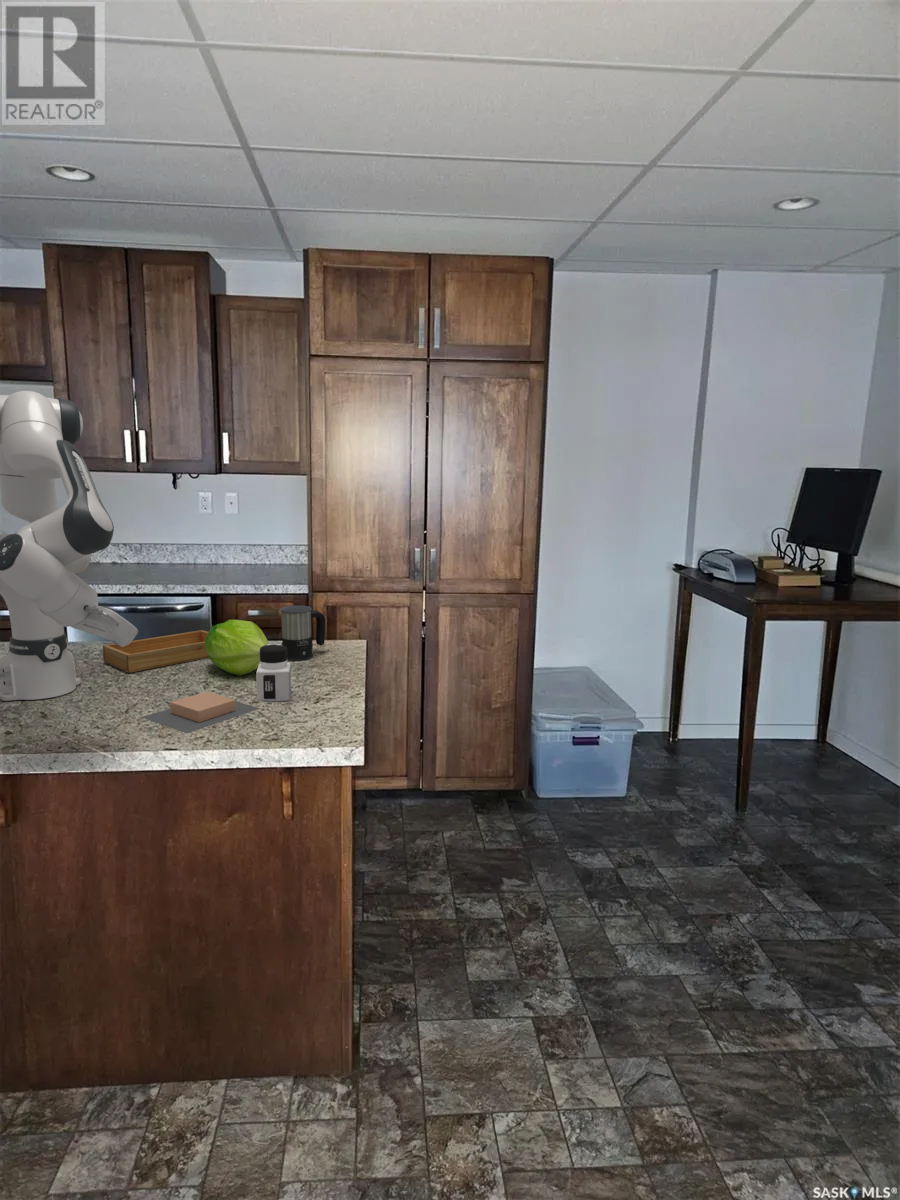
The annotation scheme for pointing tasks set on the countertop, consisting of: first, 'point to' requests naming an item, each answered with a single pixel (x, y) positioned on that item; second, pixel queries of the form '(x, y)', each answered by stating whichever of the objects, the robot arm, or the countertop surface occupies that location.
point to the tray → (157, 651)
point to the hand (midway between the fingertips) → (122, 642)
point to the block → (202, 706)
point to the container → (273, 674)
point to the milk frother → (301, 631)
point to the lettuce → (235, 646)
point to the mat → (191, 725)
